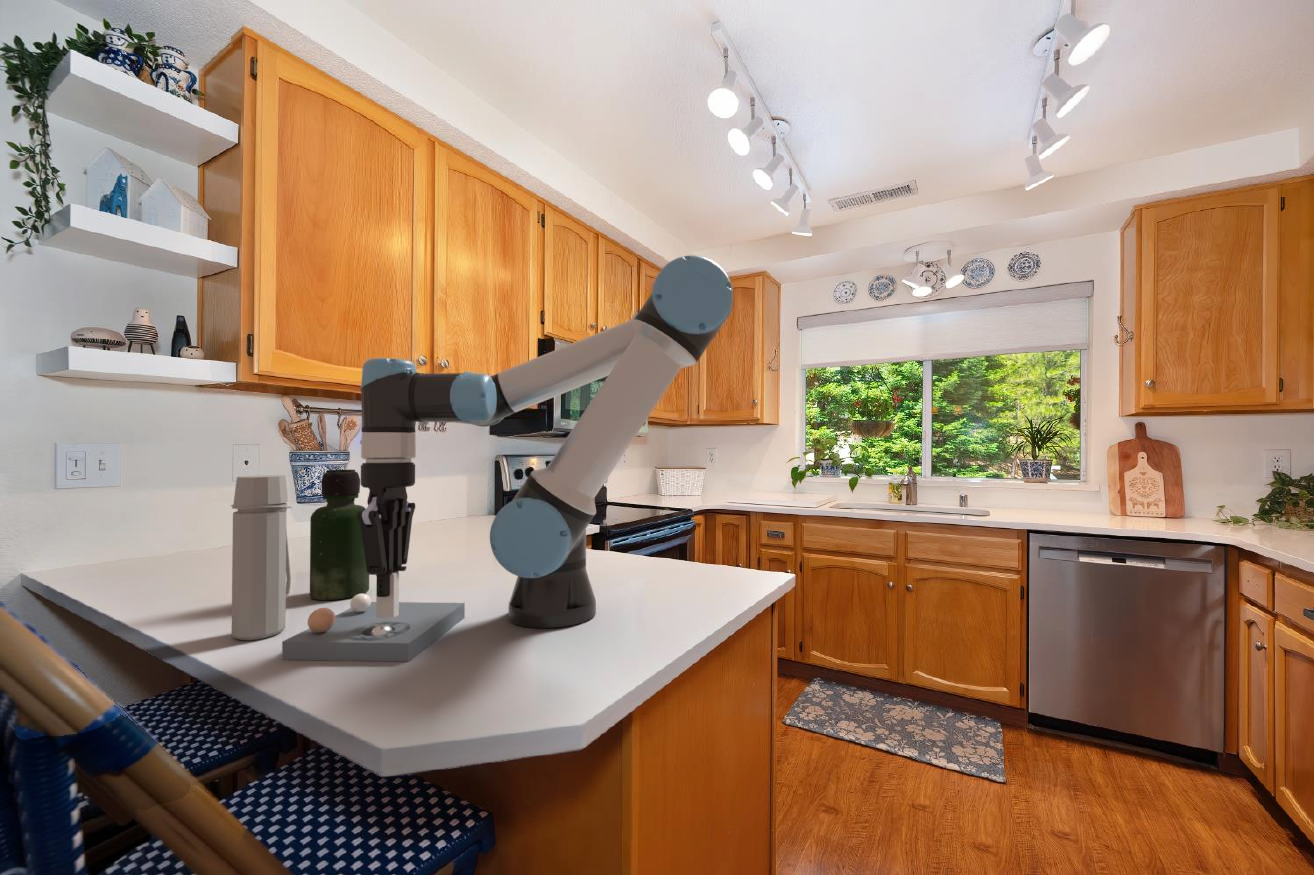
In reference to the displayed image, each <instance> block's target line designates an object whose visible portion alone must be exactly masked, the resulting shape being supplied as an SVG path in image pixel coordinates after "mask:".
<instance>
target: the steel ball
mask: <svg viewBox="0 0 1314 875" xmlns="http://www.w3.org/2000/svg"><path fill="white" fill-rule="evenodd" d="M391 632H393V629H392V628H391V627H390V626H389V625H386V624H381V625H378V626H376V627H375V628H374V629H373V630H372V631H371V633H370V636H378V635H384V634H388V633H391Z"/></svg>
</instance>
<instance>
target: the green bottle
mask: <svg viewBox="0 0 1314 875" xmlns="http://www.w3.org/2000/svg"><path fill="white" fill-rule="evenodd" d="M320 484H321V495H322V500H325V501H326V505H324V506H320V507H318V508H316V509H315V510H314V511H313V512H312V514H311V516H310V526H309V528H310V529H309V532H310V533H309V535H310V537H309V543H310V544H309V548H310V549H309V597H310V598H312V599H315V600H318V601H319V600H320V601H338V600H346V599H352V598H353V597H354V596H356V595H357V594H366V593H367V592H368V591H369V590H370V574H369V573H367V569H366V561H365V554H364V547H363V539H362V532H361V526H360V523H359V521H358V519H357V512H358V511H365V510H366V508H365V506H362V505H361V504H355V500H356V499H358V498H359V494H360V490H361V477H360V474H359V472H357V471H356V469H328V470H327V469H326V472H323V475H322V478H321V483H320Z"/></svg>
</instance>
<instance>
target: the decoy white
mask: <svg viewBox="0 0 1314 875" xmlns="http://www.w3.org/2000/svg"><path fill="white" fill-rule="evenodd" d="M371 602H372V600H371V597H370V596H369V595H368V594H366V593H364V594H357V595H356V596H354V597H352V598H351V600H350V608H352V610H353V611H355V612H358V613H361V612H364V611H366V610H367V609H368V608H369V607H370V605H371Z"/></svg>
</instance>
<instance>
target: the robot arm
mask: <svg viewBox="0 0 1314 875" xmlns="http://www.w3.org/2000/svg"><path fill="white" fill-rule="evenodd" d="M733 292H734V290H733V286H732V282H731V280H730V278H729V276H728V274H727V273H726V271H725V270H724V269H723V268H722V267H721V266H720V265H719V264H718V263H716V261H714V260H712V259H709V258H707V257H704V256H700V255H695V254H692V255H685V256H679V257H677V258H675V259H673V260H671V261H669V262H668V263H666V264H665V265H664V267H663V268H662V269H661V270H660V272H658V274H657V275H656V277H655V279H654V282H653V284H652V291H651V294H650V295H649V297H647V299H646V301H645V302H644V304H643V305H642V307H641V309H638V310H637V311H634V313H633V315H632V318H631V319H630V320H627V321H625V322H622V323H620V324H617V325H615V326H613V327H610V328H608V329H605V330H603V331H600V332H597V333H595V334H593V335H590V336H588V337H585V338H582V339H580V340H577V341H575V342H572V343H569V344H567V345H565V346H561V347H560V348H557V349H555V350H552V351H550V352H547V353H545V354H542V355H540V356H538V357H534V358H532V359H530V360H528V361H525V362H522V363H520V364H517V365H514V366H512V367H510V368H508V369H505V370H502V371H500V372H498V373H495V374H493V375H489V374H486V373H475V372H470V371H464V372H452V373H451V372H449V373H448V372H445V373H443V372H442V373H440V372H438V373H423V372H417V368H416V364H415V363H414V362H413V361H411V360H408V359H402V358H389V357H387V358H386V357H379V358H378V357H377V358H370V359H368V360H366V361H365V362H364V363H363V366H362V371H361V372H362V373H361V384H360V385H361V386H360V387H359V390H360V394H361V395H360V396H361V400H360V401H361V439H360V441H359V443H360V445H361V447H360V448H361V449H360V458H362V459H363V460H365V462H363V463H362V464H361V465H360V487H362V488H365V489H368V490H369V493H368V496H367V502H366V503H367V507H366V508H365V509H366V510H365V511H358V512H357V519H358V521H359V523H360V526H361V532H362V539H363V547H364V554H365V561H366V569H367V573H369V576H371V575H374V576H376V585H375V586H376V590H375V591H376V594H375V595H376V596H375V597H376V601H375V602H376V618H394V617H396V616H398V615H399V602H400V572H405V571H406V570H407V566H406V565H407V562H408V559H409V549H410V541H411V532H412V523H413V516H414V513H415V510H416V503H415V502H409V500H408V493H407V488H409V487H412V486H414V485H415V484H416V464H415V463H414V462H413V461H412V459H415V458H416V457H417V456H416V424H417V423H456V424H457V423H458V424H467V425H472V426H473V425H474V426H477V427H480V428H481V427H482V428H485V427H490V426H494V425H496V424H499V423H501V421H502V420H504V418H506V417H509V416H511V415H513V414H515V413H518V412H520V411H522V410H524V409H525V410H526V409H527V408H530V407H533V406H535V405H537V404H539V403H543V402H545V401H547V400H550V399H553V398H555V397H558V396H561V395H563V394H566V393H568V392H570V391H573V390H575V389H578V388H580V387H584V386H585V385H588V384H590V383H593V382H596V381H598V380H601V379H604V378H605V377H606V378H605V380H604V381H603V383H602V385H601V386H600V388H599V389H598V390H597V392H596V393H595V395H594V396H593V398H592V400H591V401H590V403H589V404H588V405H587V407H586V408H585V410H583V411H584V412H583V413H582V414H581V415H580V417H579V419H578V420H577V422H576V423H575V425H574V426H573V428H572V429H571V430H570V433H569V434H568V435H567V436H566V438H565V440H564V441H563V442H562V444H561V446H560V447H559V449H558V450H557V452H556V453H555V455H554V456H553V458H552V459H551V460H550V462H549V464H548V465H547V466H546V467H544V468H540V469H535V470H532V471H531V472H530V474H529V475H528V477H526V478H527V479H526V480H525V481H524V483H523V484H522V485H521V486H520V488H519V490H518V492H517V493H516V494H515V496H514V498H512V500H511V501H509V502H508V503H507V504H505V505H504V506H503V507H502V508H500V510H498V512H497V513H496V515H495V517H494V519H493V521H492V523H491V526H490V529H489V530H490V531H489V544H490V549H491V552H492V554H493V556H494V558H495V559H496V561H497V562H498V564H499V565H500V566H501V567H502V568H503V569H504V570H505V571H506V572H508V573H510V574H512V575H515V576H516V577H517V578H516V581H515V584H514V587H513V590H512V594H511V597H510V600H509V602H508V607H507V608H508V612H507V613H508V614H507V615H508V617H507V618H508V621H510V622H511V623H513V624H515V625H518V626H521V627H528V628H538V629H539V628H540V629H542V628H543V629H545V628H546V629H548V628H549V629H550V628H551V629H552V628H560V627H562V628H563V627H568V626H575V625H577V624H581V623H584V622H587V621H590V620H591V619H593V618H594V617H595V616H596V614H597V600H596V597H595V593H594V591H593V587H592V584H591V581H590V578H589V575H588V571H587V528H588V526H589V524H590V523H591V522H592V521H593V518H594V517H595V515H596V514H597V509H596V508H597V507H596V502H595V497H597V495H598V493H599V491H601V488H603V485H604V484H605V483H606V482H607V480H608V478H609V477H610V476H611V474H612V472H613V471H614V469H615V468H616V466H617V465H618V463H619V462H620V460H621V459H622V457H623V456H624V454H625V453H626V451H627V449H628V448H629V447H630V446H631V444H632V443H633V441H634V439H636V437H637V435H638V433H639V432H640V431H641V429H642V427H643V426H644V424H645V423H646V421H647V420H648V418H649V416H651V414H652V412H653V411H654V409H655V407H656V406H657V405H658V403H659V402H660V400H661V399H662V397H663V396H664V395H665V393H666V392H667V391H668V389H669V387H670V386H671V384H672V382H673V381H674V379H675V378H676V377H677V375H678V373H680V371H681V369H683V368H688V367H692V366H696V364H697V363H698V362H699V360H700V359H701V357H702V355H703V354H704V352H705V351H706V350H707V348H708V346H709V345H710V344H711V342H712V341H713V340H714V339H715V338H716V336H717V335H718V333H719V332H720V330H721V328H722V326H723V324H724V323H725V322H726V321H727V320H728V319H729V317H730V315H731V312H732V310H733V309H732V308H733V303H734V302H733V301H734V293H733ZM404 565H405V566H404Z"/></svg>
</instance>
